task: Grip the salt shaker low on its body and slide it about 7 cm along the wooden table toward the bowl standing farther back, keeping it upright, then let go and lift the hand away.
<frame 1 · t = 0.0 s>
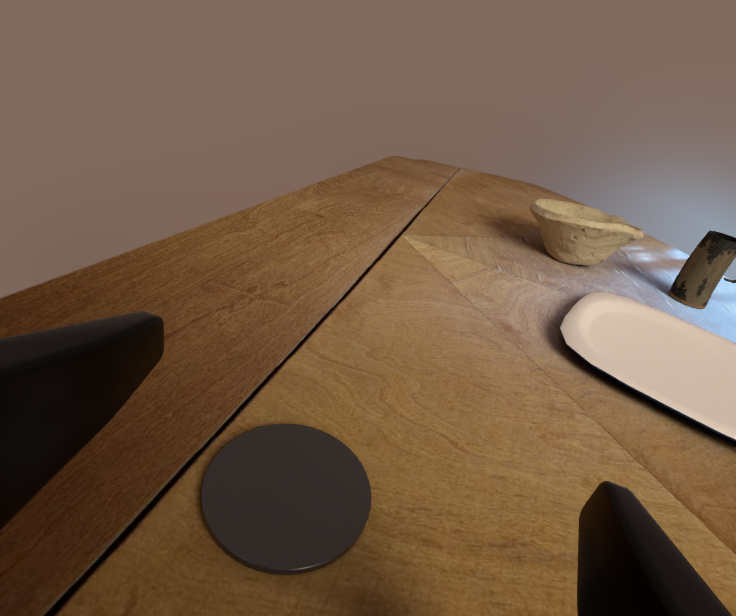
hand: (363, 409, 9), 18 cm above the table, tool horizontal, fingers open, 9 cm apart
coaster: (289, 490, 27), on the table
plate: (672, 368, 52), on the table
bowl: (566, 257, 79), on the table
mug: (692, 303, 73), on the table
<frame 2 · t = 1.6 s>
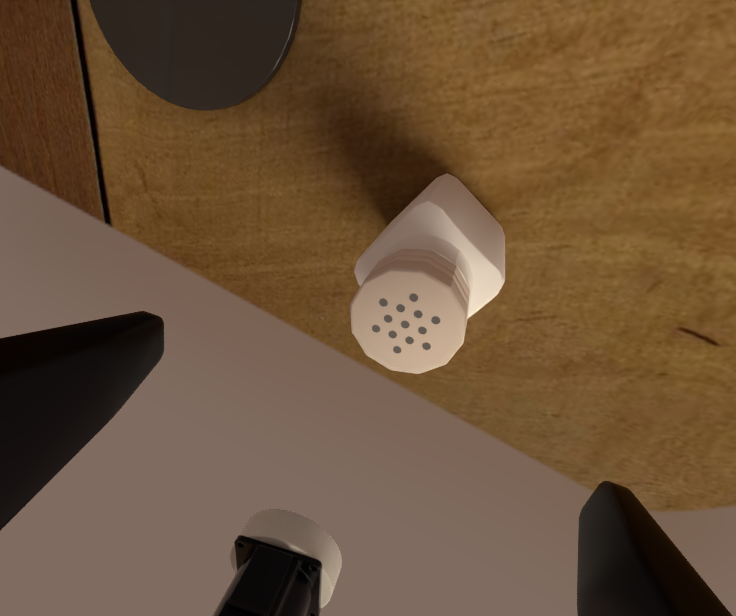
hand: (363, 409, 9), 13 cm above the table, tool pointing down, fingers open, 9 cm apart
salt shaker: (446, 228, 20), on the table
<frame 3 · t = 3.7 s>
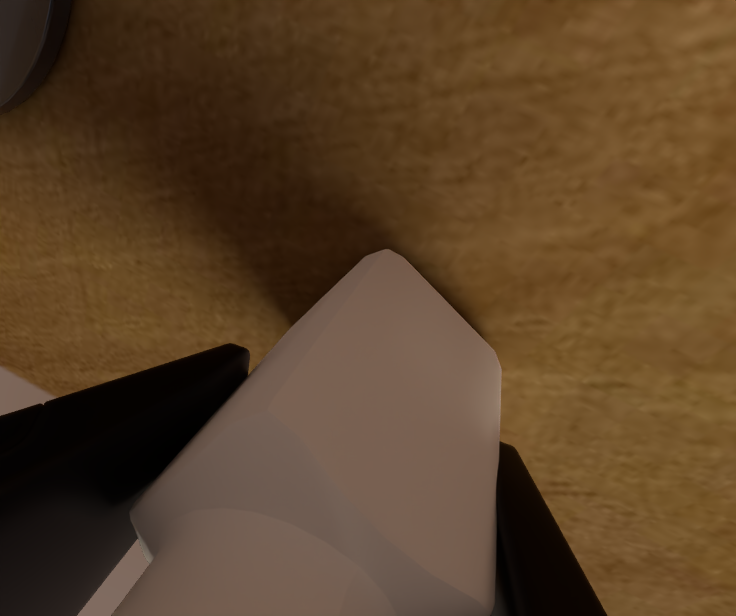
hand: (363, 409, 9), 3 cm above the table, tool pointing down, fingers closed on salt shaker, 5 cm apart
salt shaker: (394, 337, 11), on the table, touching gripper
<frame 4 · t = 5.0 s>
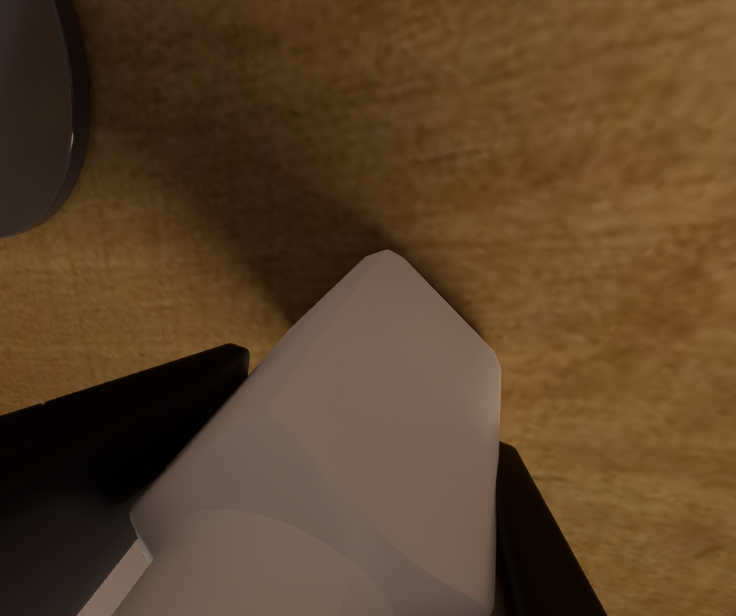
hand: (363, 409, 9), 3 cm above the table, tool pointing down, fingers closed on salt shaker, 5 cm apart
salt shaker: (394, 338, 11), on the table, touching gripper
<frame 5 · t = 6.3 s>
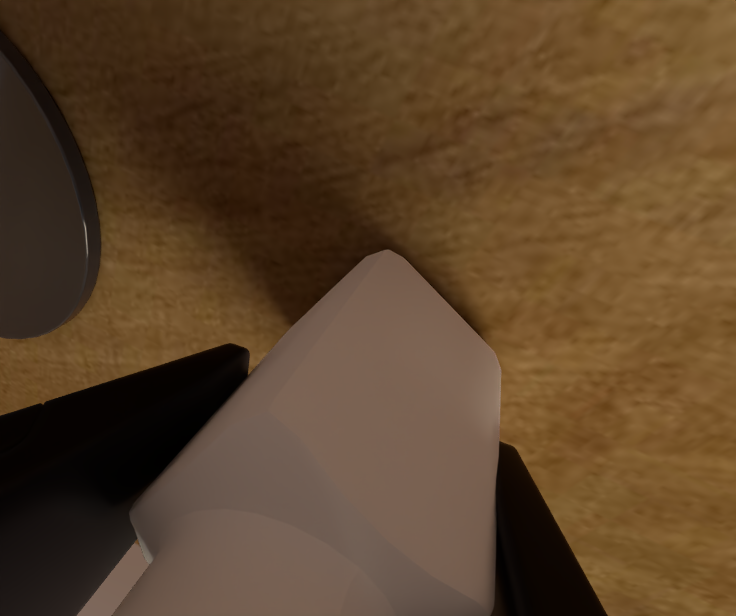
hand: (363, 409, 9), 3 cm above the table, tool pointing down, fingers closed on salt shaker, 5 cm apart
salt shaker: (394, 338, 11), on the table, touching gripper
when the fingers open (3 cm above the table, at t = 6.7 s): salt shaker stays where it is, on the table.
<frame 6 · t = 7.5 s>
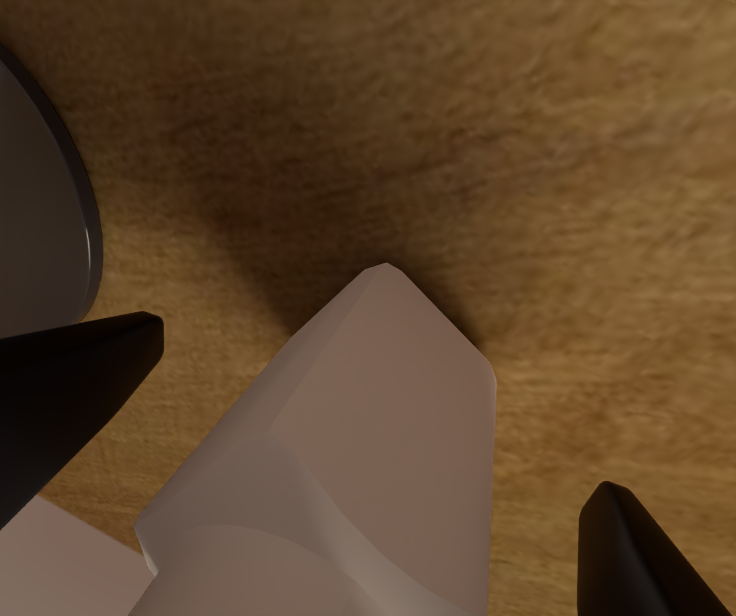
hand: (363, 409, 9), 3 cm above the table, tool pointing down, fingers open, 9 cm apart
salt shaker: (392, 348, 11), on the table
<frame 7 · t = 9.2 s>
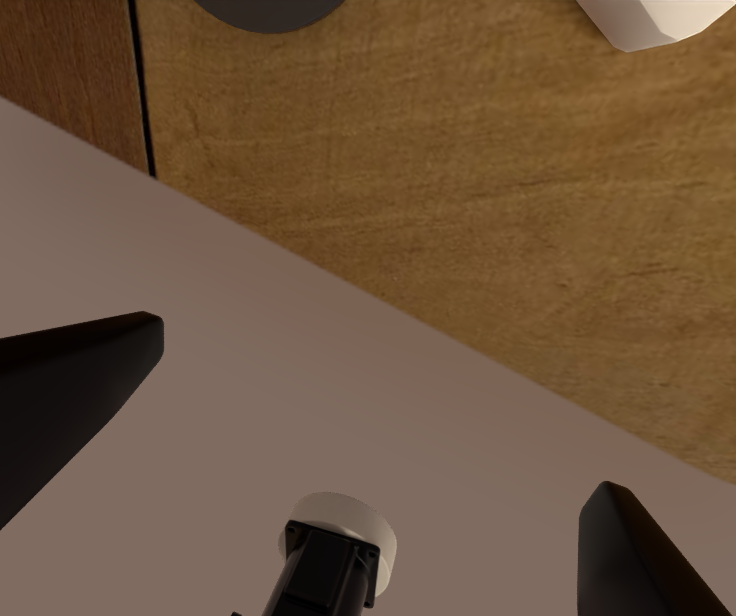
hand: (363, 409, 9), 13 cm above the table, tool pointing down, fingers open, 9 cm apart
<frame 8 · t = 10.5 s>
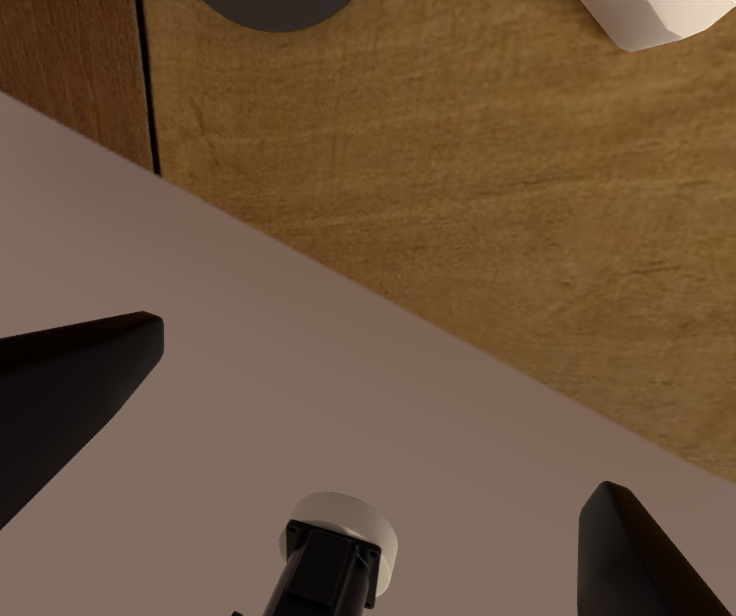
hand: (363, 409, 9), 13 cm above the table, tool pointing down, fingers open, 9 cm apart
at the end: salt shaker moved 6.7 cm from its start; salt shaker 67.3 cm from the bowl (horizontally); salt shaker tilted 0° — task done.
